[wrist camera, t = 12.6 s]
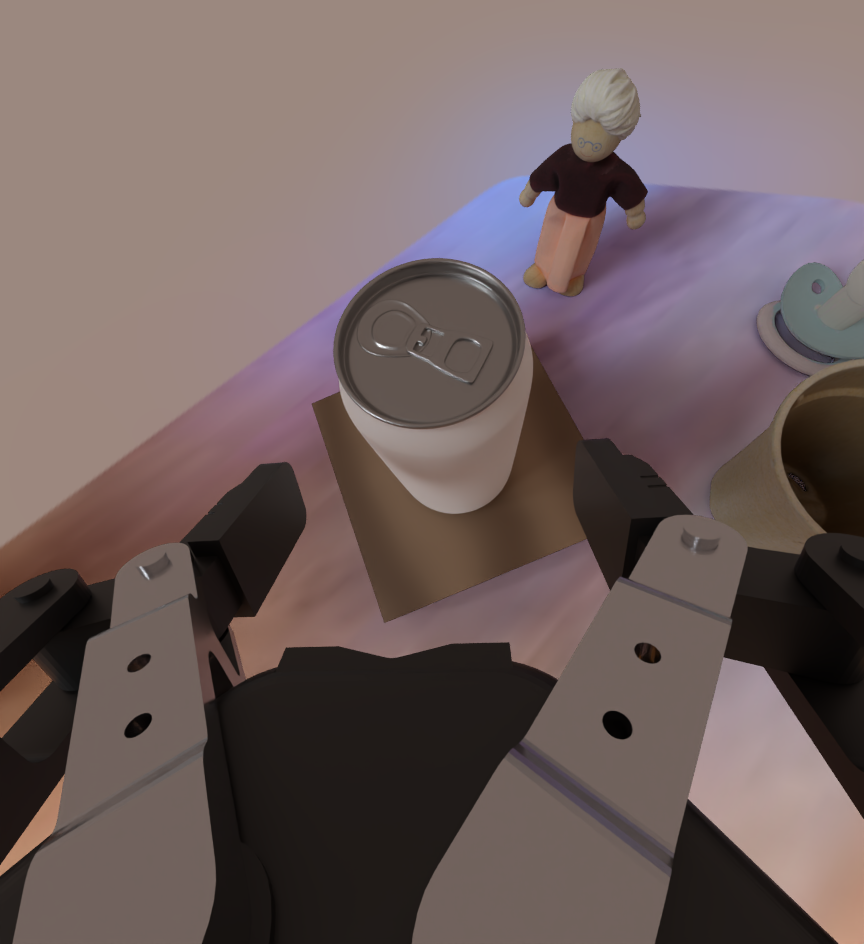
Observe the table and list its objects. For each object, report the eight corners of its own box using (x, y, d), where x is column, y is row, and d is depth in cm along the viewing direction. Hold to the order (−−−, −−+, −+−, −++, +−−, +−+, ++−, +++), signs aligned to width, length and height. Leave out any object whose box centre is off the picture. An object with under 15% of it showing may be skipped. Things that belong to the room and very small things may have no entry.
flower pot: (649, 525, 24) (734, 496, 16) (718, 405, 26) (828, 322, 18) (811, 619, 22) (1008, 641, 14) (877, 481, 23) (1091, 425, 15)
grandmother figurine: (506, 295, 30) (521, 101, 18) (515, 254, 31) (535, 43, 19) (611, 307, 29) (705, 105, 17) (618, 263, 30) (711, 42, 17)
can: (431, 393, 24) (383, 222, 13) (530, 434, 23) (578, 282, 11) (381, 486, 23) (278, 390, 12) (482, 535, 21) (480, 482, 10)
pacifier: (813, 401, 25) (890, 350, 25) (911, 347, 19) (1012, 281, 19) (728, 322, 28) (800, 276, 28) (793, 252, 22) (884, 193, 22)
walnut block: (399, 616, 25) (384, 622, 21) (334, 427, 29) (311, 403, 25) (606, 530, 25) (629, 521, 21) (510, 352, 29) (515, 317, 25)
